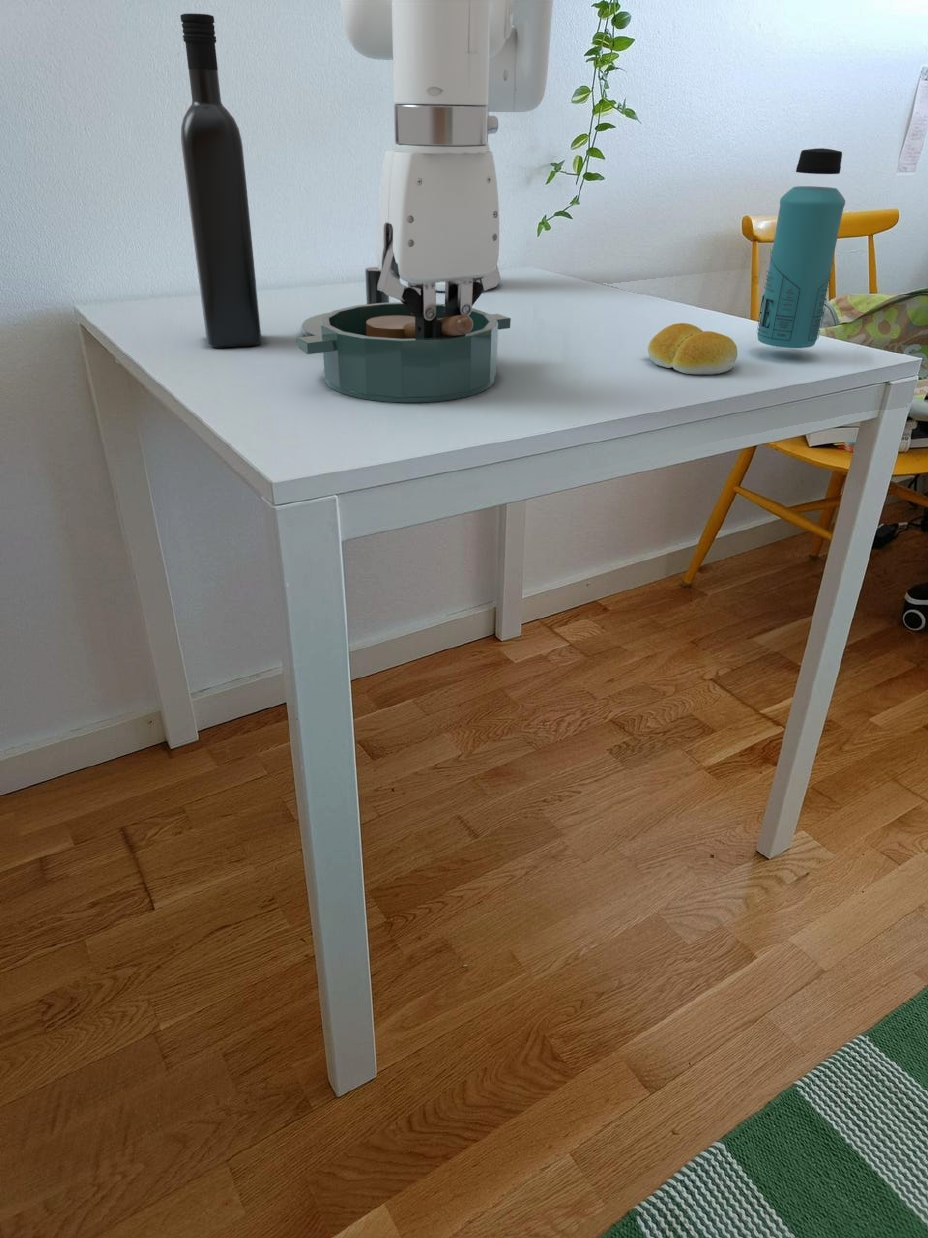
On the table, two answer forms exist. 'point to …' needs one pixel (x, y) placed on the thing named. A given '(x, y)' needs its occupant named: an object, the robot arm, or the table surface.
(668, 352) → the bread roll
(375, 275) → the pot lid
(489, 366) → the pot
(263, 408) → the table surface
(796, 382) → the table surface
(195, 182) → the wine bottle
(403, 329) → the brown handled cylinder
